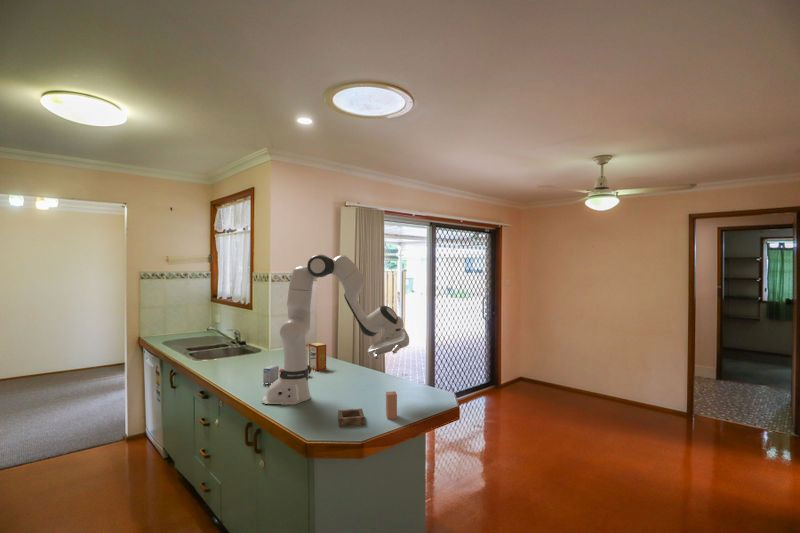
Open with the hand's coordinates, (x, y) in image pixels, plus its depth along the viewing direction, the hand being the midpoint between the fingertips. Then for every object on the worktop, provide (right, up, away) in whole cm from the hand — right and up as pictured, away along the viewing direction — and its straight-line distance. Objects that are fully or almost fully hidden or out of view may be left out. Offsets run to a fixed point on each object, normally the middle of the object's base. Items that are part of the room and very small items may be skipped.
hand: (384, 355), depth 172 cm
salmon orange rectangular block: (+3, -24, -9) cm, 26 cm away
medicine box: (-65, -25, +41) cm, 80 cm away
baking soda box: (-45, -25, +71) cm, 88 cm away
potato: (-52, -25, +54) cm, 79 cm away
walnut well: (-13, -24, -13) cm, 30 cm away
